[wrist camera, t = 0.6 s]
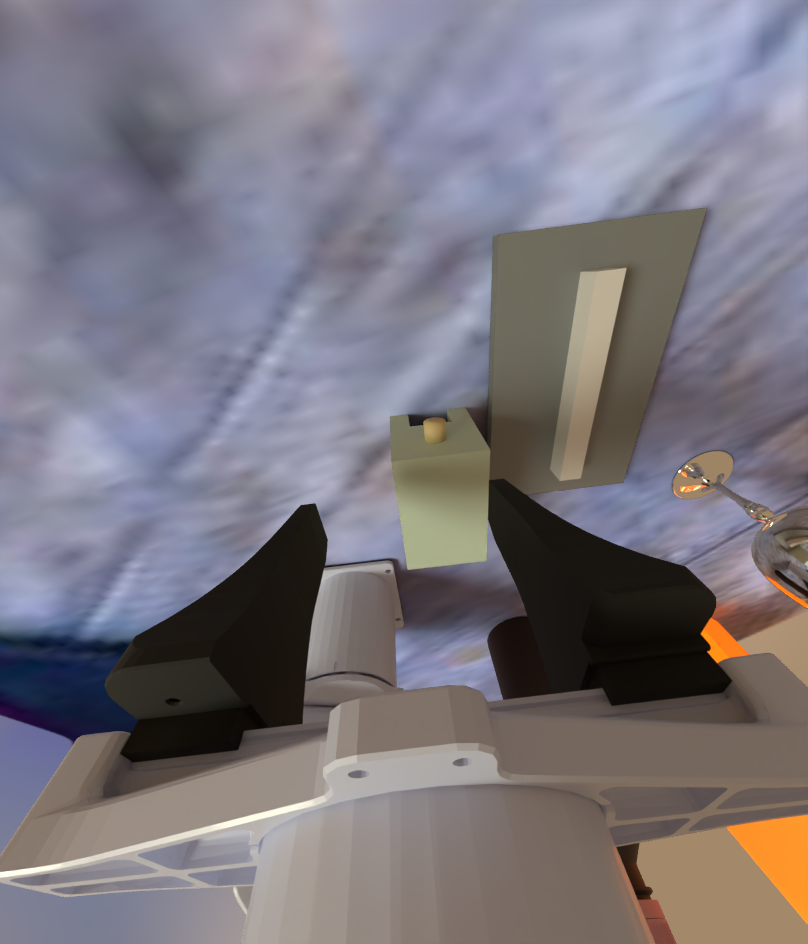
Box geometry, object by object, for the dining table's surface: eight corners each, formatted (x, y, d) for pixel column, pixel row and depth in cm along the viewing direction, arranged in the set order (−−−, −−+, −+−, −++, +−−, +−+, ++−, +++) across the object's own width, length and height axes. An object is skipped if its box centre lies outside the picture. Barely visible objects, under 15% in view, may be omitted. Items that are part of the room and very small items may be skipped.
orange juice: (717, 621, 36) (1014, 930, 19) (650, 659, 40) (848, 946, 23) (677, 600, 34) (977, 934, 17) (610, 643, 37) (798, 951, 20)
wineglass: (672, 451, 24) (888, 584, 14) (753, 435, 23) (1037, 560, 13) (655, 510, 27) (822, 656, 17) (727, 497, 26) (942, 638, 16)
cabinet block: (465, 503, 25) (486, 560, 20) (403, 510, 26) (407, 569, 20) (464, 392, 21) (491, 431, 16) (387, 402, 21) (388, 444, 16)
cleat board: (614, 475, 25) (636, 494, 23) (485, 491, 25) (494, 511, 23) (690, 210, 16) (736, 201, 14) (493, 236, 16) (509, 231, 14)
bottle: (487, 618, 34) (592, 973, 17) (552, 612, 34) (724, 960, 17) (485, 654, 37) (569, 975, 20) (543, 648, 37) (677, 964, 20)
